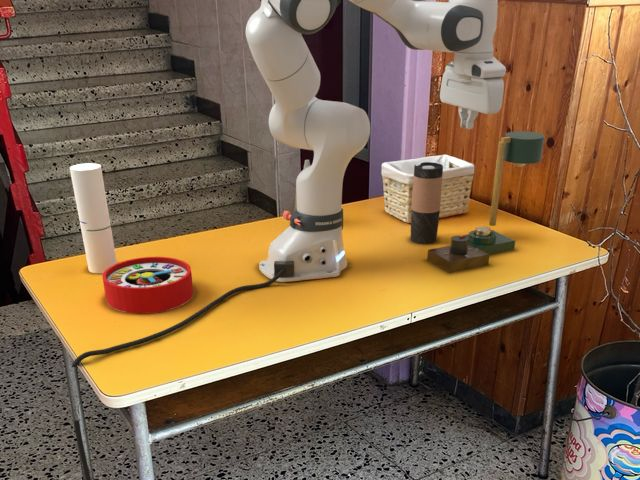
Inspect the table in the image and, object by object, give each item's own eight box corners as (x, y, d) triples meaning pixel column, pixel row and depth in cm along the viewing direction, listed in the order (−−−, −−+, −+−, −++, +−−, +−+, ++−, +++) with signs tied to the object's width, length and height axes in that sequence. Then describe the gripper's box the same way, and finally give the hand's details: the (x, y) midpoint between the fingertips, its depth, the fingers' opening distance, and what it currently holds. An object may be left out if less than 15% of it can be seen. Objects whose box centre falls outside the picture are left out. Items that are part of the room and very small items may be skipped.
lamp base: (477, 257, 191) (479, 240, 189) (455, 246, 199) (456, 229, 196) (514, 250, 196) (516, 233, 193) (491, 239, 203) (493, 223, 201)
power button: (480, 238, 191) (481, 232, 190) (471, 234, 194) (472, 227, 193) (493, 236, 193) (494, 229, 192) (483, 232, 196) (484, 225, 195)
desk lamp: (501, 230, 196) (512, 142, 183) (478, 220, 203) (488, 134, 191) (539, 223, 200) (553, 136, 188) (515, 213, 208) (527, 129, 196)
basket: (404, 226, 214) (407, 174, 206) (377, 211, 226) (379, 161, 218) (472, 214, 222) (478, 164, 214) (442, 201, 235) (446, 153, 226)
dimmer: (449, 273, 182) (450, 261, 180) (426, 260, 190) (427, 249, 188) (488, 265, 186) (489, 253, 185) (465, 253, 194) (466, 241, 192)
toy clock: (91, 266, 171) (173, 251, 180) (96, 289, 175) (176, 274, 183) (116, 295, 157) (204, 277, 165) (121, 320, 160) (206, 301, 168)
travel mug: (438, 244, 200) (445, 169, 189) (410, 244, 200) (415, 169, 189) (435, 235, 206) (441, 162, 195) (408, 235, 206) (412, 162, 195)
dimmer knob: (460, 256, 184) (461, 241, 182) (446, 251, 186) (447, 237, 184) (470, 251, 186) (472, 237, 184) (456, 247, 189) (458, 233, 187)
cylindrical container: (103, 261, 191) (85, 161, 177) (123, 266, 188) (107, 165, 174) (82, 270, 186) (63, 168, 172) (103, 275, 182) (84, 172, 169)
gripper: (436, 61, 177) (431, 122, 185) (488, 71, 162) (481, 137, 169) (457, 59, 179) (452, 119, 187) (511, 69, 164) (503, 134, 171)
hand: (466, 128), depth 178 cm, fingers closed
